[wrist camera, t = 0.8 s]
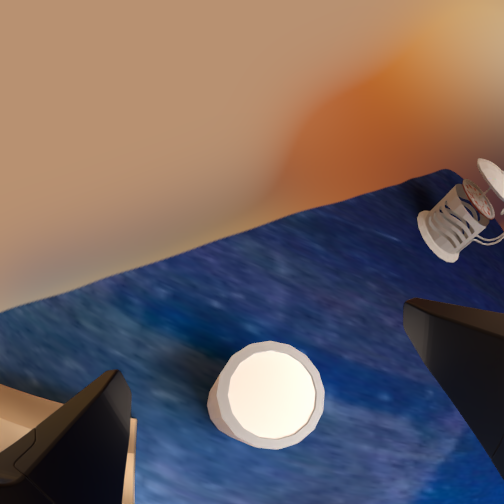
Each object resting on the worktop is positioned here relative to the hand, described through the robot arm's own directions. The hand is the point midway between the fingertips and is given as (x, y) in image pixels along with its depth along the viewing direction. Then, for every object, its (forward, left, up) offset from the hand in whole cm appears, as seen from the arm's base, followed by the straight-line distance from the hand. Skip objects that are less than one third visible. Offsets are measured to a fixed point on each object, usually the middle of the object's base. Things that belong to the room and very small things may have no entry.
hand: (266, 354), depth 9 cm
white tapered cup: (0, -4, -16) cm, 17 cm away
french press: (+23, -36, -16) cm, 46 cm away
